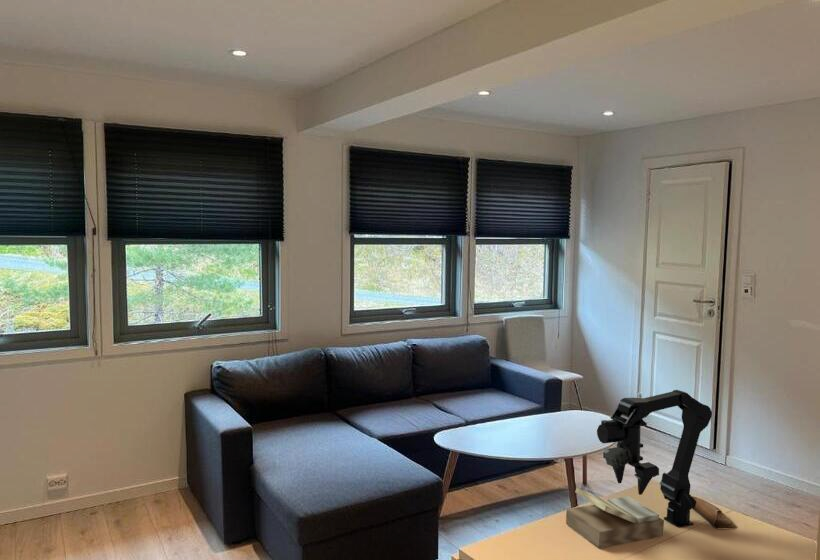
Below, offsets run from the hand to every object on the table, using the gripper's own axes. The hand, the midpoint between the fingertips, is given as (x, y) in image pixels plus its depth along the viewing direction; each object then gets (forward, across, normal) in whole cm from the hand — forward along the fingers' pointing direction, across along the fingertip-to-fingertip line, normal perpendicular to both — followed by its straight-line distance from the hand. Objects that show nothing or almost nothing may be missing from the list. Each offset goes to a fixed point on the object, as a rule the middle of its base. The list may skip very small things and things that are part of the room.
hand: (629, 488), depth 186 cm
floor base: (+13, -1, -5) cm, 14 cm away
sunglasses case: (+15, +2, +33) cm, 36 cm away
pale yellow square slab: (+5, -1, -9) cm, 10 cm away
